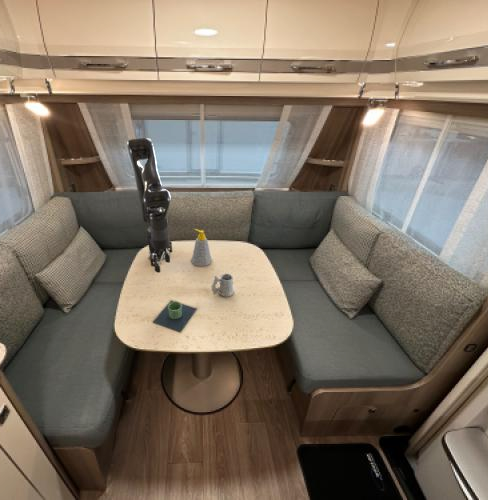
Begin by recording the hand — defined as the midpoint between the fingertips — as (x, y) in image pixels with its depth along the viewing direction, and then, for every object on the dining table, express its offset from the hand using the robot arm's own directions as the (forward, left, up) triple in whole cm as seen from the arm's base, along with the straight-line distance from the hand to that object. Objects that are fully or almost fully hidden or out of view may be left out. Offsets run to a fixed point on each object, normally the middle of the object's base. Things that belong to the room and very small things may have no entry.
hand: (162, 267), depth 121 cm
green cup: (+6, +9, -20) cm, 23 cm away
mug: (-18, +23, -21) cm, 36 cm away
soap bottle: (-42, 0, -21) cm, 47 cm away
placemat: (+6, +9, -21) cm, 23 cm away
